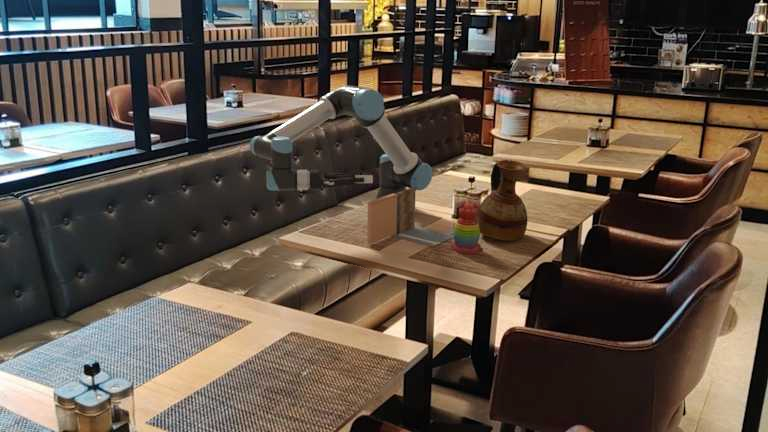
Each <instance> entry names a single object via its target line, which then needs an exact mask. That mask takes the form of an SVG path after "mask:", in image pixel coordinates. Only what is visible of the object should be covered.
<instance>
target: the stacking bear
mask: <svg viewBox="0 0 768 432" xmlns="http://www.w3.org/2000/svg"><path fill="white" fill-rule="evenodd" d="M478 208H479V205H478V204H477V203H472V202H465V203H462V202H461V203H460V204H459V208H458V215H459V218H457V221H456V223H455V225H454V230H453V236H454V238H453V239H454V241H453V242H452V243H451V246H450V247H451V249H452V250H453V251H454V252H456V253H458V254H460V255H473V254H476V253H479V252H480V251H481V249H482V246H481V243H479V241H480V240H479V239H480V236H481V233H480V229H479V223H478V221H477V219H476V216H477V211H478Z"/></svg>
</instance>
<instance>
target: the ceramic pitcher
mask: <svg viewBox="0 0 768 432" xmlns="http://www.w3.org/2000/svg"><path fill="white" fill-rule="evenodd" d="M525 168H526V165H525V164H523V163H522V162H520V161H518V160H511V159H510V160H508V159H502V160H498V161H497V162H495V164H494V165H493V167H492V170H491V174H490V187H491V188H490V193H489V194H488V195H487V196H486V197H485V198H484V199H483V200H482V202H481V203H480V205H479V206H478V208H477V216H476V217H475V218H476V219H477V221H478V223H479V229H480V235H482V236H485V237H488V238H491V239H495V240H500V241H515V240H516V241H517V240H519V239H520V238H522V237H524V235H525V233H526V231H527V228H528V212H527V208H526V205H525V203H524V202H523V200H522V198H521V197H520V196H519V195H518V194H517V192H516V185H517V180H518V177H519V175H520V173H521V172H522V171H523V170H525Z"/></svg>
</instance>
